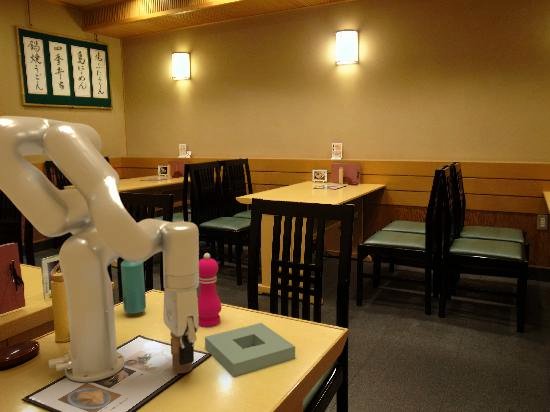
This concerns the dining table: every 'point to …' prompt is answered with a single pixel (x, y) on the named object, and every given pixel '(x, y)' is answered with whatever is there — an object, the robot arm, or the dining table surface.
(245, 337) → the socket board
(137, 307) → the beverage bottle
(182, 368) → the walnut peg
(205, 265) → the pepper mill
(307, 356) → the dining table surface
